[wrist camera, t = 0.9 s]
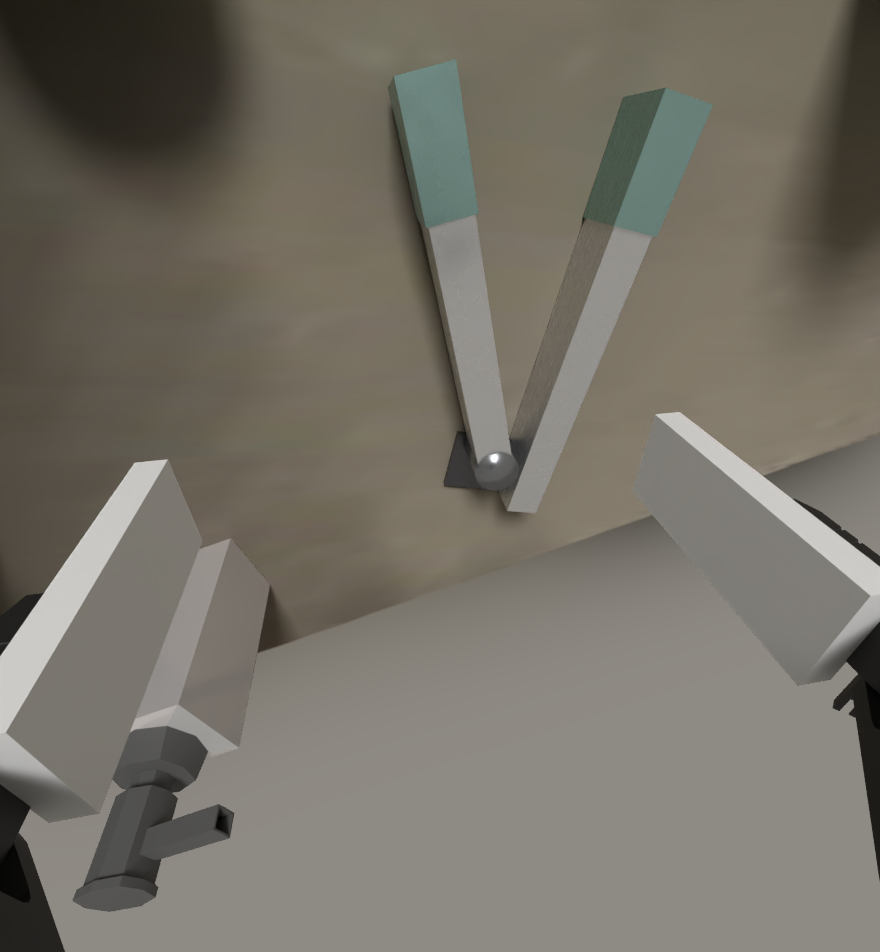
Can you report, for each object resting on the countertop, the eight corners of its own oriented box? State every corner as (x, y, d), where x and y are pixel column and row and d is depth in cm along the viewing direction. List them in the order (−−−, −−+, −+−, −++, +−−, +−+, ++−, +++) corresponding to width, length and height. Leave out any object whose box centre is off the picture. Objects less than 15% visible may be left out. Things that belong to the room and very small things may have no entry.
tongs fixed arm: (443, 482, 39) (452, 513, 35) (553, 72, 24) (586, 59, 21) (524, 489, 41) (539, 519, 37) (670, 113, 26) (718, 106, 23)
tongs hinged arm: (468, 465, 37) (479, 495, 34) (384, 88, 23) (389, 77, 20) (506, 454, 37) (521, 484, 34) (445, 71, 23) (460, 57, 20)
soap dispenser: (293, 576, 42) (250, 882, 24) (206, 606, 43) (103, 928, 25) (256, 529, 38) (173, 850, 21) (161, 562, 39) (0, 905, 21)
